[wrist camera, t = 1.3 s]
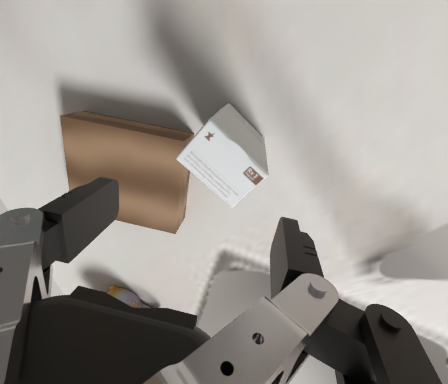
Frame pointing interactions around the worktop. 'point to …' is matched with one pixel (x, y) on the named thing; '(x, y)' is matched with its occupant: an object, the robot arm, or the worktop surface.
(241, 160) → the skincare box
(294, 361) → the robot arm
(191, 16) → the worktop surface
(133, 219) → the base
